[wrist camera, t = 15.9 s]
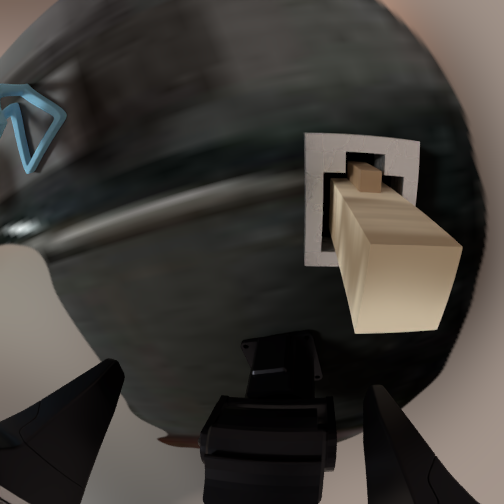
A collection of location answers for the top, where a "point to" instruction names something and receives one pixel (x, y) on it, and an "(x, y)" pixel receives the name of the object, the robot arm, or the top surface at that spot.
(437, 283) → the keyed post
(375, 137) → the socket plate
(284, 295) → the top surface
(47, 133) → the chair
